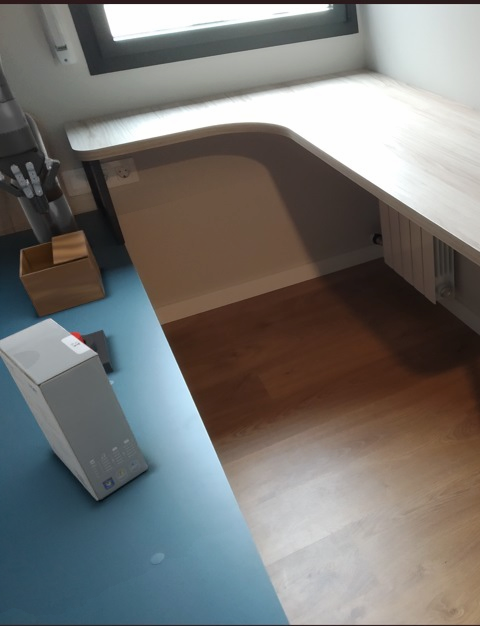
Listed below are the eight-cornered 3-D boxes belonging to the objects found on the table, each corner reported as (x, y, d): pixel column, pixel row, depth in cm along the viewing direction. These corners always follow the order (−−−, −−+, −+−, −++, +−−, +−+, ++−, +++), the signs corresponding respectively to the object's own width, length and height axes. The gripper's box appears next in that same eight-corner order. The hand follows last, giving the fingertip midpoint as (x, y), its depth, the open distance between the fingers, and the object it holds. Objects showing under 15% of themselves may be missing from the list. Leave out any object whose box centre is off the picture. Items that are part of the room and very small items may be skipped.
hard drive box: (151, 468, 86) (99, 354, 76) (98, 504, 82) (35, 387, 71) (102, 423, 96) (49, 315, 85) (52, 452, 91) (-11, 342, 80)
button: (59, 346, 109) (55, 337, 107) (84, 338, 110) (79, 329, 109) (60, 357, 105) (55, 348, 104) (85, 349, 107) (81, 340, 106)
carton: (38, 287, 137) (20, 249, 132) (99, 270, 141) (84, 232, 136) (39, 317, 125) (19, 277, 120) (105, 297, 130) (89, 257, 125)
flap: (52, 238, 134) (51, 237, 133) (83, 231, 136) (82, 230, 136) (54, 264, 122) (53, 263, 122) (88, 256, 125) (87, 254, 125)
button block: (49, 357, 112) (40, 340, 110) (106, 339, 116) (99, 321, 114) (51, 393, 103) (41, 374, 101) (113, 371, 107) (105, 353, 105)
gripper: (43, 114, 119) (78, 198, 129) (-34, 129, 115) (7, 215, 124) (44, 122, 114) (80, 210, 123) (-37, 139, 109) (6, 228, 118)
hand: (43, 212), depth 124 cm, fingers closed
